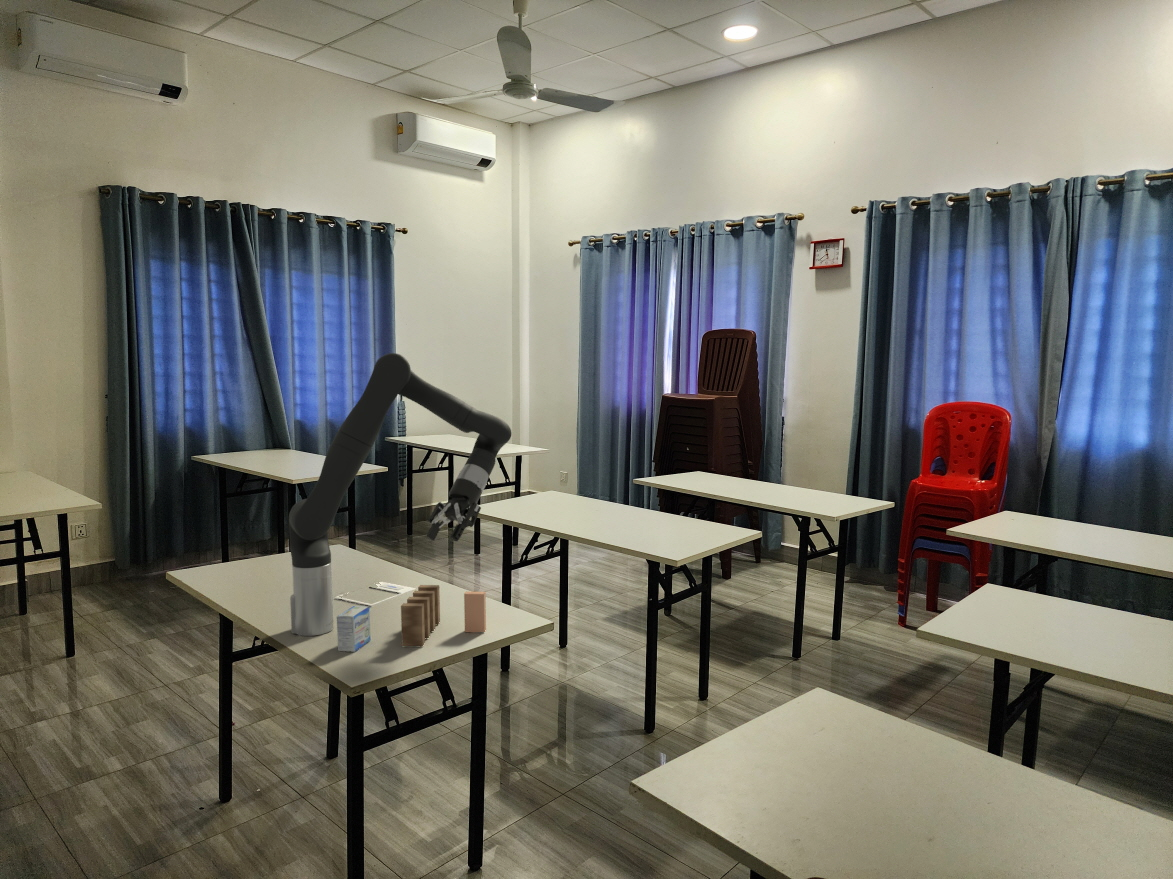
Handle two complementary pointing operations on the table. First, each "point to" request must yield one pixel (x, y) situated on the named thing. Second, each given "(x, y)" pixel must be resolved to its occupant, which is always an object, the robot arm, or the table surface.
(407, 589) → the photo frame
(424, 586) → the tile
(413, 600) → the tile
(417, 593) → the tile
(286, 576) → the table surface
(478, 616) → the tile
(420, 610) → the tile
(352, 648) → the medicine box
